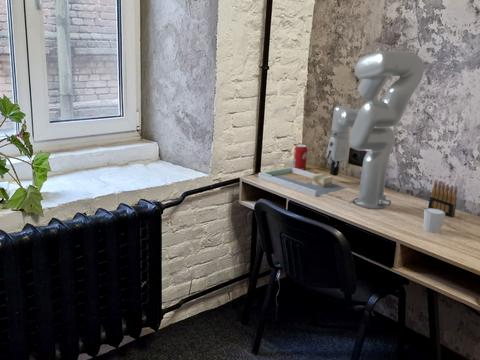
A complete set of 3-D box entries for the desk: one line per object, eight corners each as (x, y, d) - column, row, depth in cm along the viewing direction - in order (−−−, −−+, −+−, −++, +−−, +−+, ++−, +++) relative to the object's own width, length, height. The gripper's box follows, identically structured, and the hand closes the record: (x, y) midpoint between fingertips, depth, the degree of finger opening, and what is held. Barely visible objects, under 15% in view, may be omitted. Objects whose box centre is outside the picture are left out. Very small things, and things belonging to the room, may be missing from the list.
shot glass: (444, 230, 173) (448, 211, 171) (437, 235, 168) (441, 215, 166) (425, 224, 177) (429, 206, 175) (418, 229, 172) (421, 210, 170)
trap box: (346, 191, 212) (347, 182, 211) (314, 199, 198) (315, 190, 197) (290, 173, 235) (291, 166, 233) (257, 180, 220) (258, 172, 219)
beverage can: (306, 171, 242) (308, 147, 238) (293, 170, 242) (295, 146, 238) (304, 168, 248) (307, 144, 244) (292, 167, 248) (294, 143, 244)
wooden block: (331, 185, 214) (332, 176, 213) (322, 187, 210) (323, 178, 209) (320, 182, 218) (321, 173, 217) (311, 184, 214) (312, 175, 213)
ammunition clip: (427, 208, 196) (432, 179, 193) (430, 208, 197) (435, 179, 194) (451, 217, 188) (457, 187, 184) (454, 216, 189) (460, 186, 185)
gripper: (336, 138, 207) (330, 179, 213) (356, 134, 217) (350, 174, 223) (322, 134, 212) (316, 175, 218) (342, 131, 222) (336, 170, 228)
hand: (333, 174), depth 220 cm, fingers closed
